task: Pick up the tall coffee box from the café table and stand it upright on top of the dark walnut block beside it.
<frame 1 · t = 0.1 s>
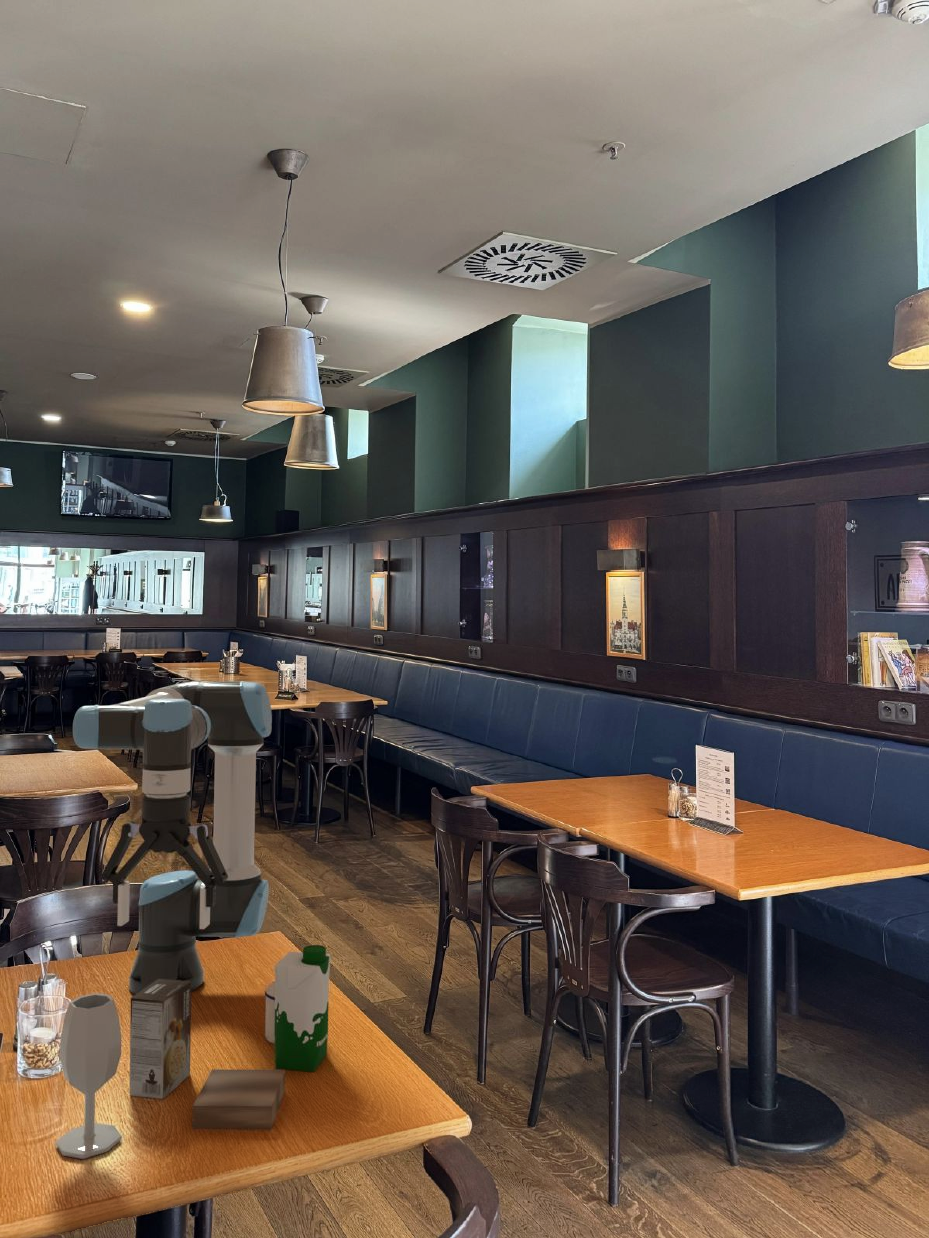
hand: (163, 925, 156), 28 cm above the table, tool pointing down, fingers open, 13 cm apart
wineglass: (89, 1145, 141), on the table
teacup with lid: (289, 1033, 181), on the table
walnut block: (240, 1112, 152), on the table
milk carton: (300, 1062, 169), on the table
coffee box: (160, 1086, 160), on the table
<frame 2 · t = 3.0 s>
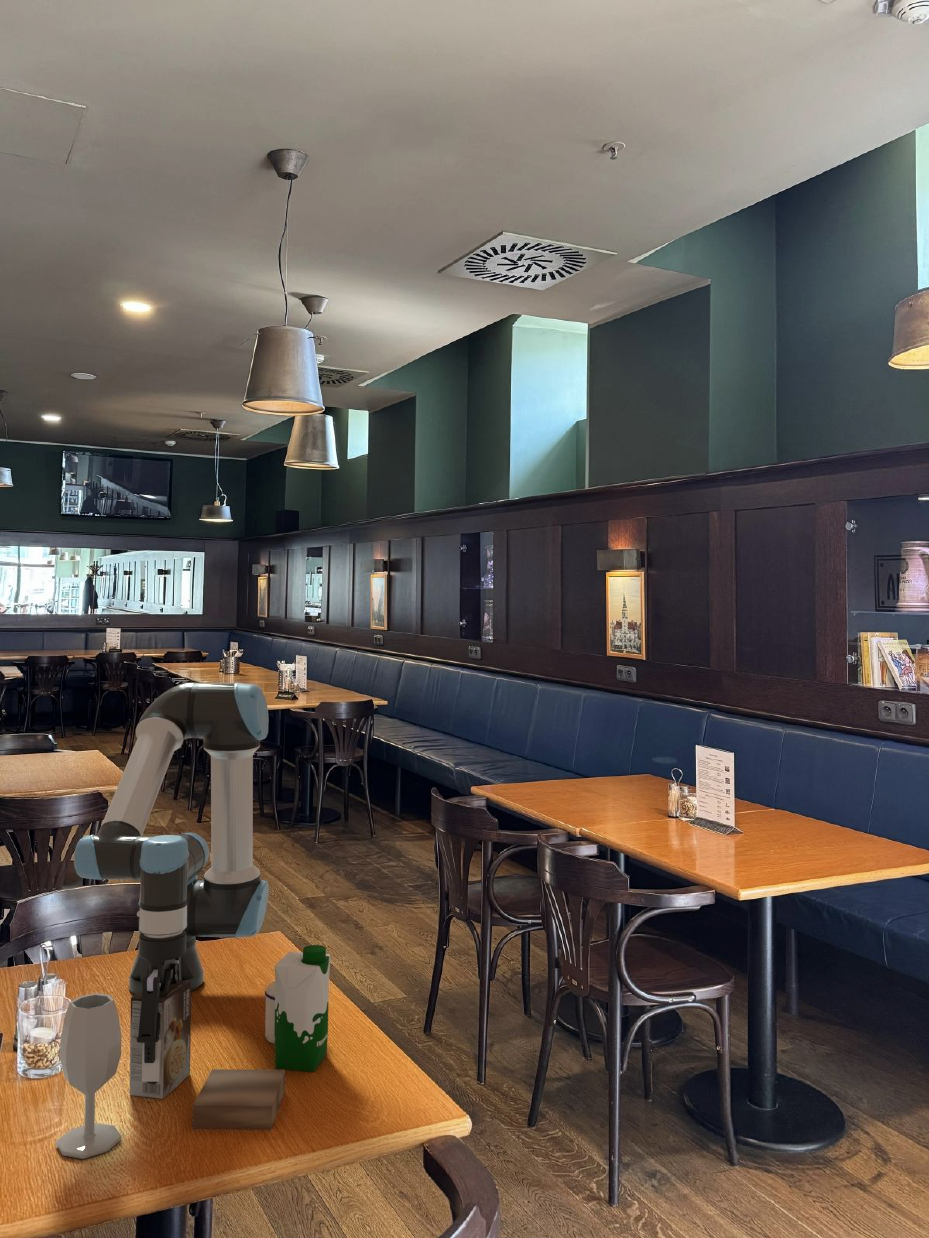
hand: (160, 1065, 160), 3 cm above the table, tool pointing down, fingers closed on coffee box, 10 cm apart
coffee box: (160, 1086, 160), on the table, touching gripper
everything else where it was.
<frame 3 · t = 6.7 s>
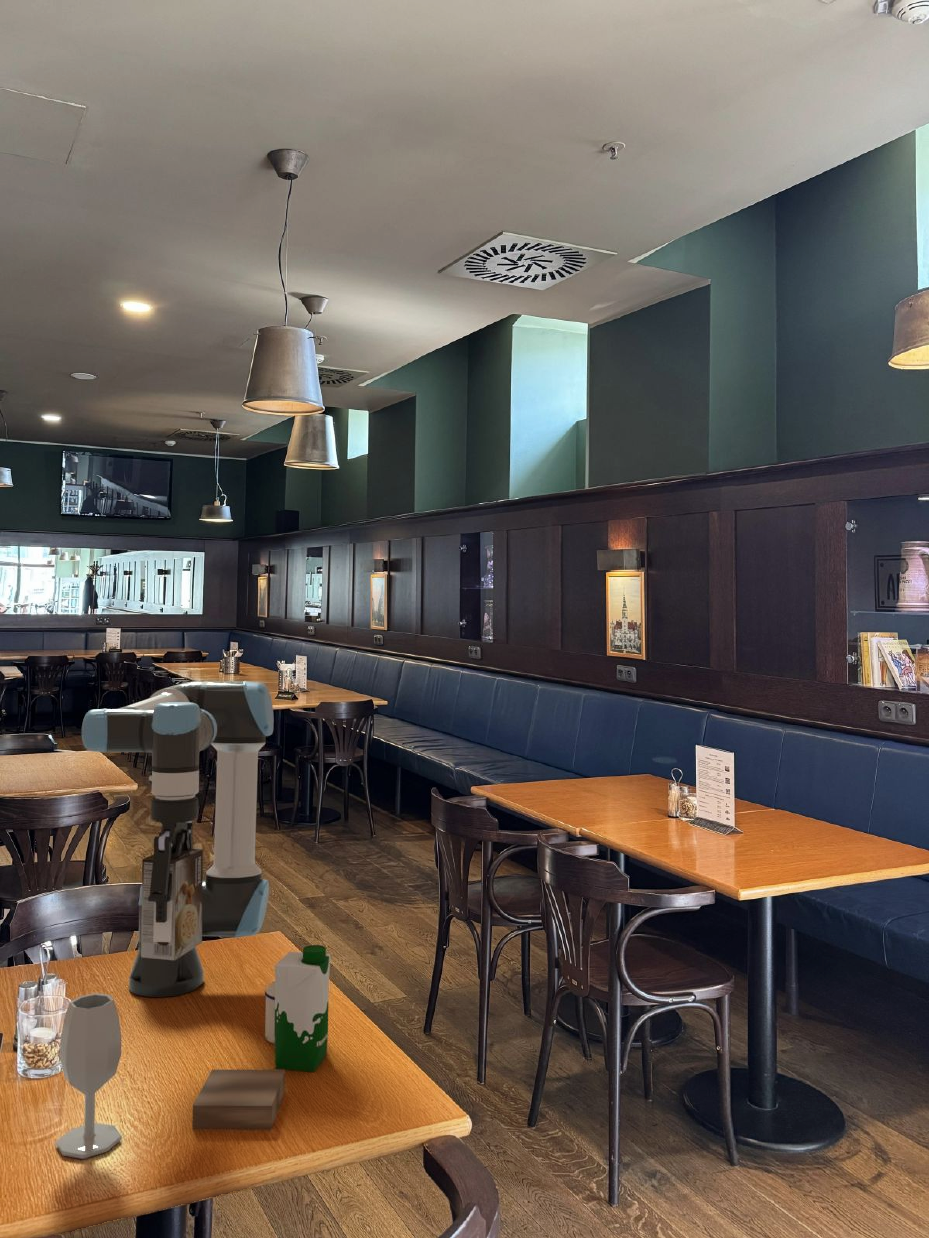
hand: (172, 931, 159), 26 cm above the table, tool pointing down, fingers closed on coffee box, 10 cm apart
coffee box: (171, 951, 159), point 23 cm above the table, touching gripper
everything else where it was.
when the fingers open (9 cm above the table, at t = 10.6 s): coffee box drops 2 cm, point 3 cm above the table.
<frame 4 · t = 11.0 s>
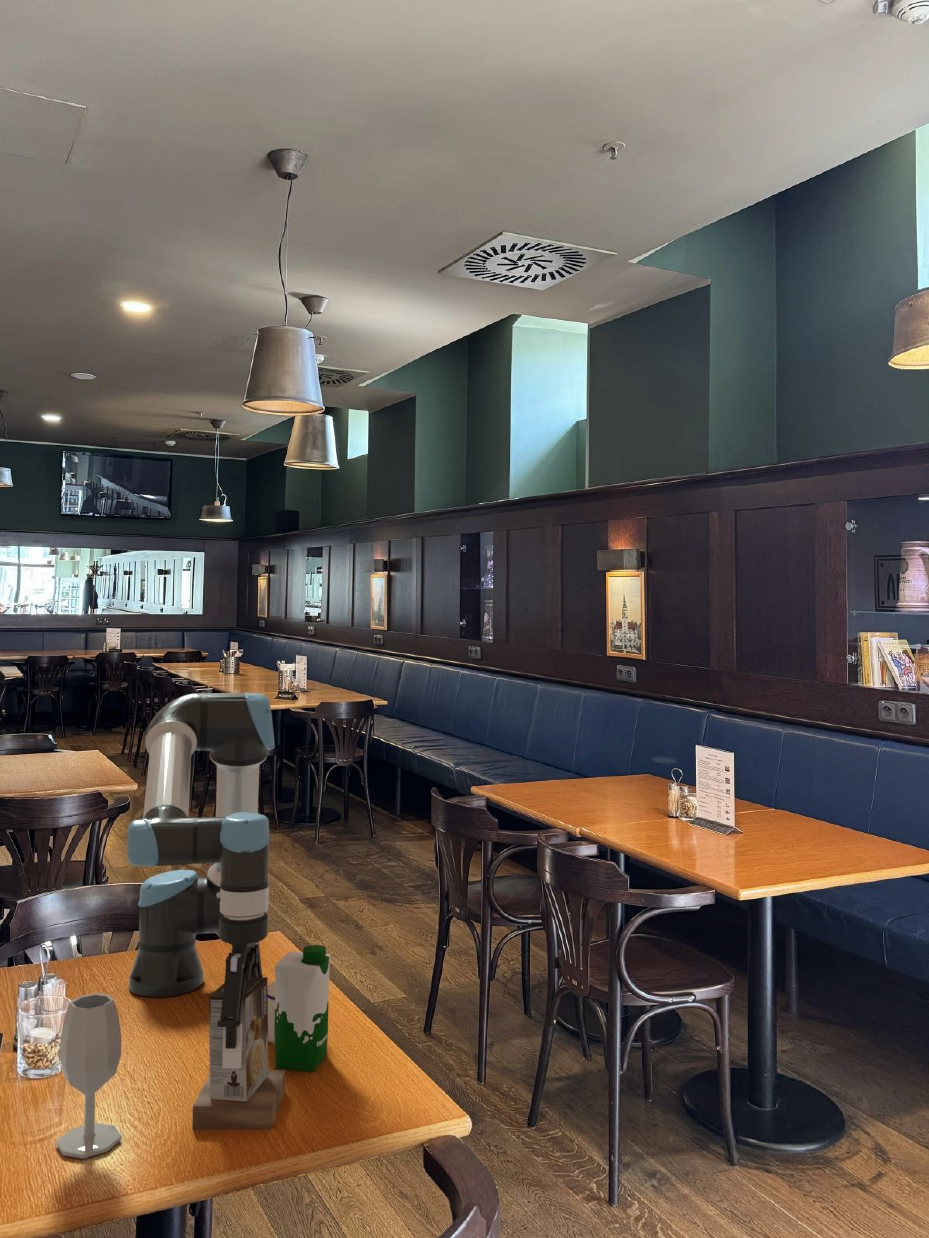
hand: (241, 1047, 152), 10 cm above the table, tool pointing down, fingers open, 13 cm apart
coffee box: (239, 1088, 152), point 3 cm above the table
everything else where it was.
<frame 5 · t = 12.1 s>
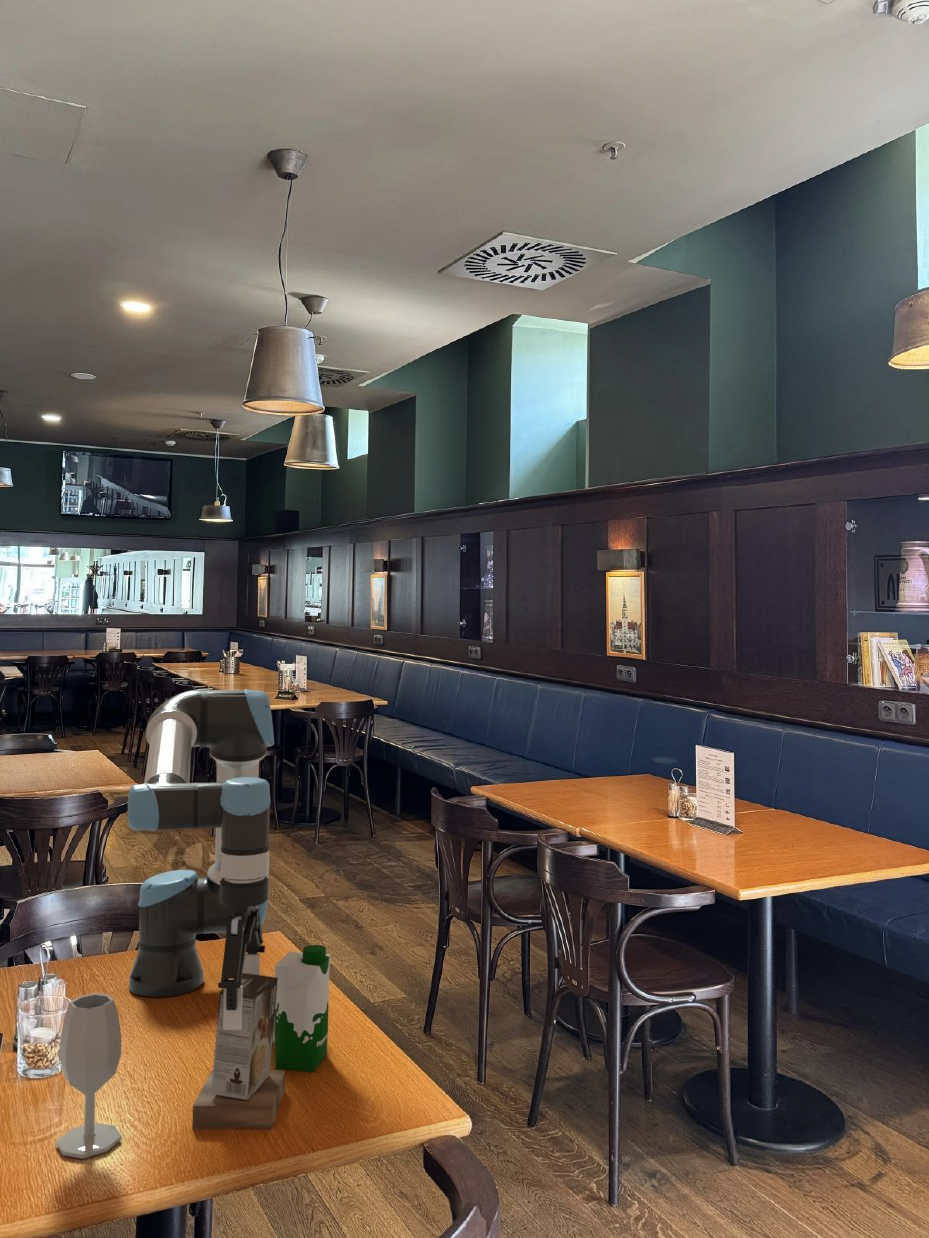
hand: (242, 1010, 152), 15 cm above the table, tool pointing down, fingers open, 13 cm apart
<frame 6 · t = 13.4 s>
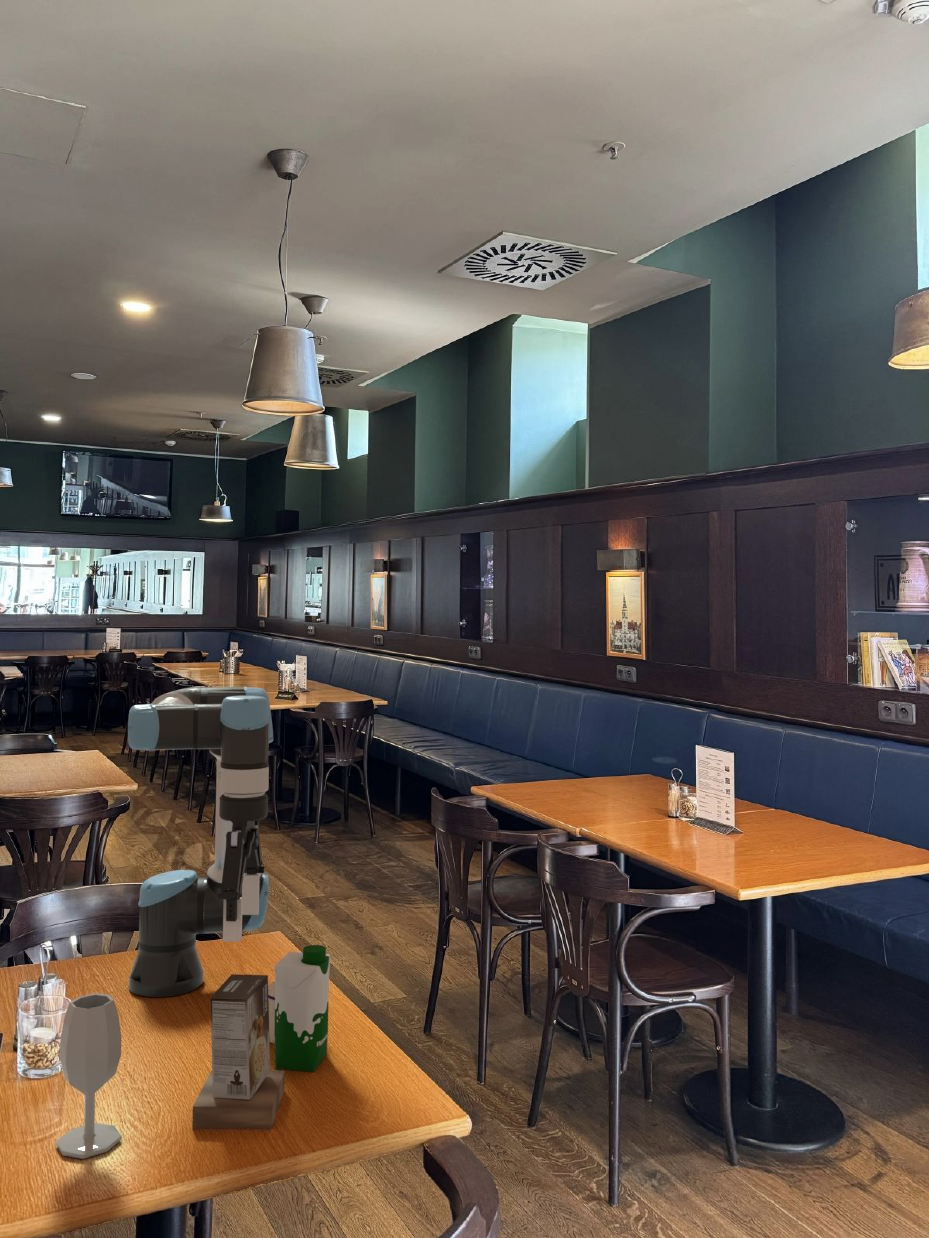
hand: (241, 927, 153), 29 cm above the table, tool pointing down, fingers open, 13 cm apart
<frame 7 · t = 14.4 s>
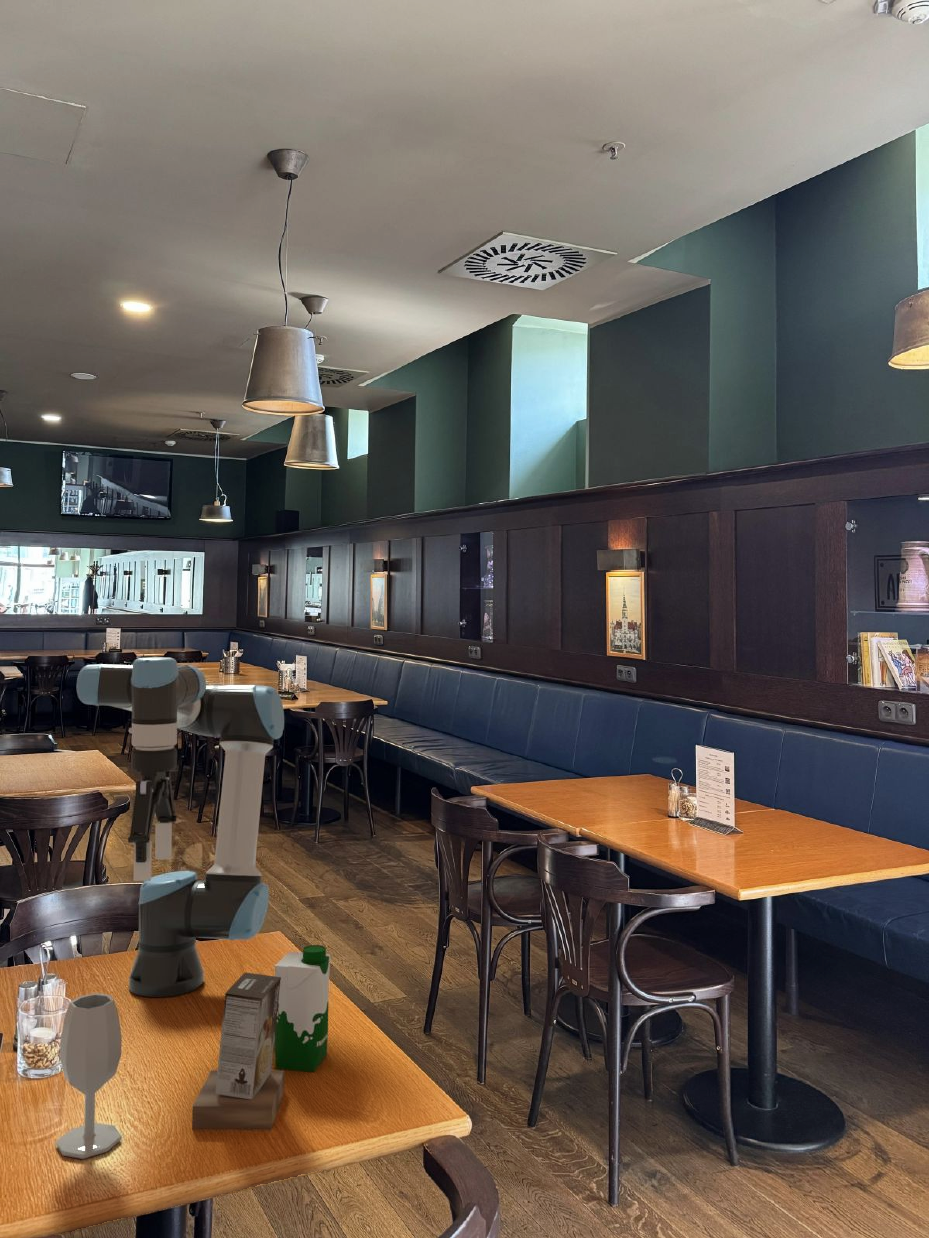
hand: (153, 869, 166), 34 cm above the table, tool pointing down, fingers open, 13 cm apart
walnut block: (239, 1112, 152), on the table, touching coffee box
coffee box: (243, 1084, 152), point 4 cm above the table, touching walnut block
everything else where it was.
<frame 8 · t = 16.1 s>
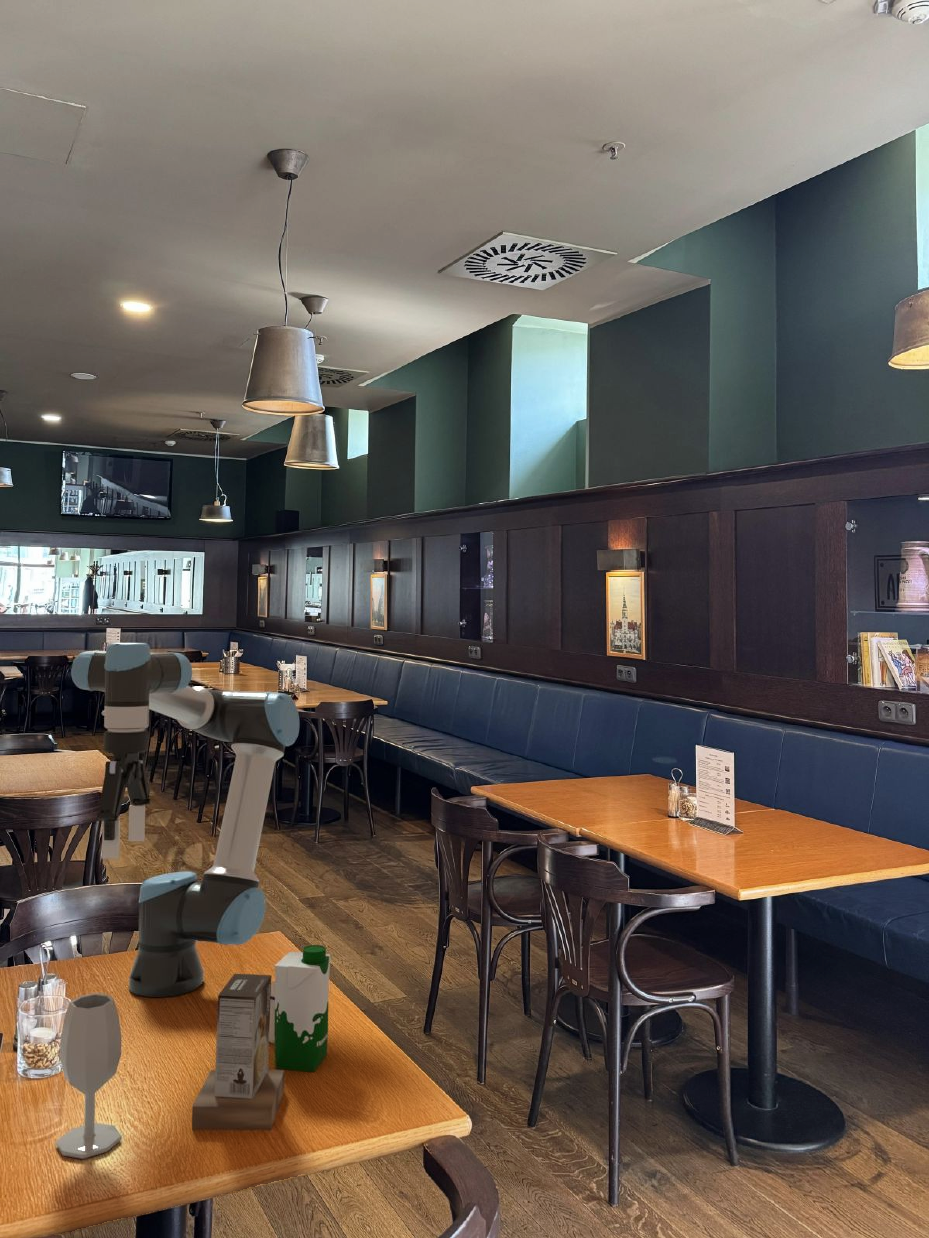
hand: (124, 849, 170), 37 cm above the table, tool pointing down, fingers open, 13 cm apart
at the end: coffee box inside the target area on the walnut block (0.7 cm from its centre), point 4.0 cm above the walnut block's base; coffee box tilted 2°; the gripper is holding nothing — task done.
